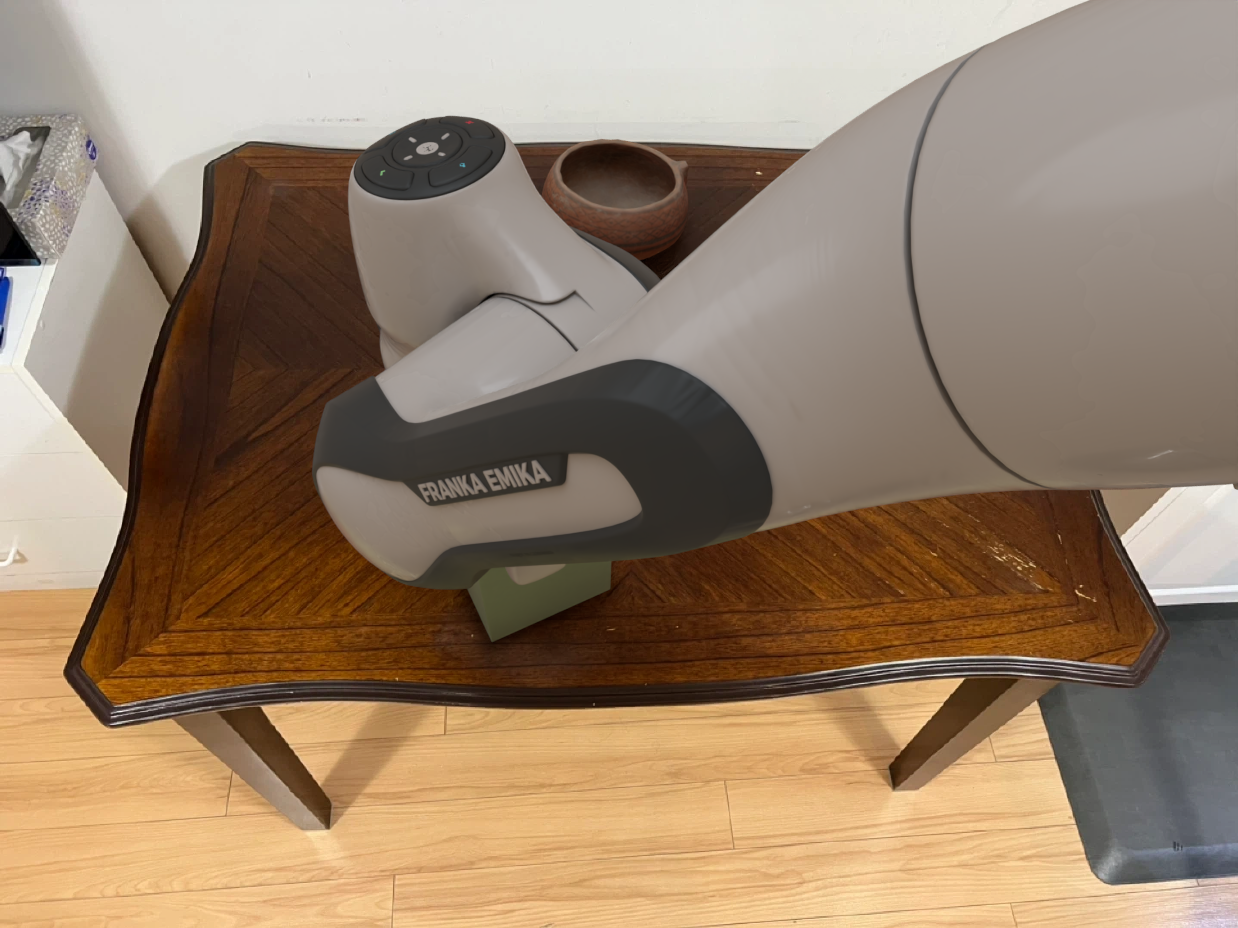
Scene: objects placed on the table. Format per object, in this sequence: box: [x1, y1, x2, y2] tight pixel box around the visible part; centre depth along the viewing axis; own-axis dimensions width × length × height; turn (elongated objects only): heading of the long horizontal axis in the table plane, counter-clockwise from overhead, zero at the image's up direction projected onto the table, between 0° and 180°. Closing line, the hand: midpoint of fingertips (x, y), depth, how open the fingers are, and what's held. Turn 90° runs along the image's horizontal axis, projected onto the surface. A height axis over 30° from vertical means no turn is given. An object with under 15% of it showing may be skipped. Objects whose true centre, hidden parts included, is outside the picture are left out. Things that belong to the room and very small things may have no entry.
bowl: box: [541, 138, 690, 261], centre depth 101 cm, size 16×16×10 cm
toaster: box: [466, 561, 612, 643], centre depth 78 cm, size 16×11×15 cm
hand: (487, 498), depth 67 cm, fingers open, 5 cm apart
